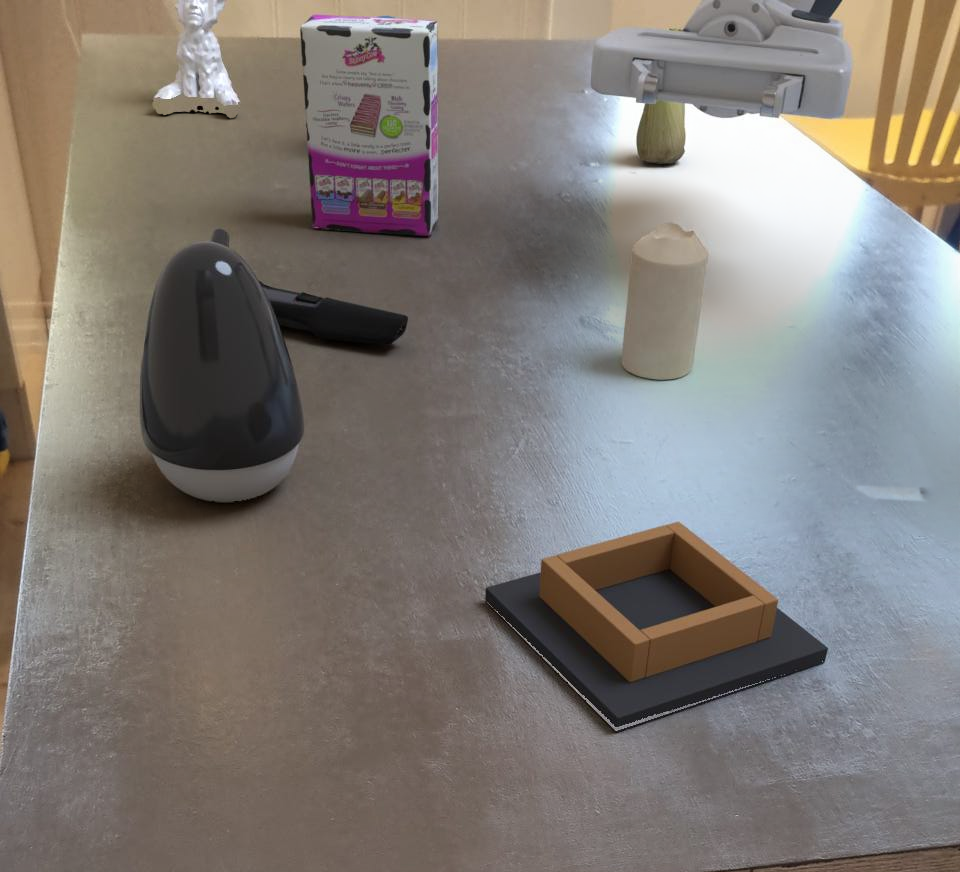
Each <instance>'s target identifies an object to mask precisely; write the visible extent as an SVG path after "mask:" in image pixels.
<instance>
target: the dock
mask: <svg viewBox="0 0 960 872" xmlns="http://www.w3.org/2000/svg"><path fill="white" fill-rule="evenodd" d="M484 596H485V599H484V602H485V603H486V604H487V606H489V607H490V609H491V610H493V611H494V612H495V613H496V614H497V615H498V616H499V617H500V619H502V620H503V621H504V622H505V624H507V625H508V626H509V627H510V629H512V630H513V631H514V632H515V633H516V634H517V636H519V637H520V638H521V639H522V640H523V641H524V642H525V643H526V644H527V645H528V647H530V648H531V650H533V651H534V652H535V653H536V654H537V655H538V656H539V658H540V659H542V660H543V661H544V662H545V663H546V664H547V666H549V667H550V668H551V669H552V671H554V672H555V673H556V674H557V676H558V677H559V678H561V680H563V681H564V682H565V683H566V685H568V687H570V689H572V690H573V691H574V692H575V693H576V694H577V696H579V698H581V699H582V700H583V702H585V704H586V705H587V706H588V707H589V708H590V709H592V710H593V712H594V713H596V714H597V716H599V717H600V719H601V720H603V722H605V723H606V725H608V727H610V728H611V729H612V730H613V731H614V732H615V733H620V732H623V731H625V730H628V729H631V728H635V727H636V726H640V725H643V724H646V723H648V722H649V723H650V722H652V721H655V720H657V719H661V718H664V717H667V716H670V715H673V714H676V713H678V712H682V711H684V710H688V709H691V708H693V707H697V706H700V705H702V704H705V703H709V702H712V701H714V700H717V699H720V698H723V697H726V696H729V695H732V694H736V693H738V692H741V691H744V690H747V689H750V688H753V687H756V686H758V685H761V684H764V683H768V682H770V681H773V680H774V681H775V680H777V679H779V678H783V677H786V676H789V675H792V674H795V673H798V672H800V671H803V670H806V669H809V668H812V667H815V666H819V665H821V664H824V663H826V660H827V656H828V651H829V647H828V646H827V645H826V644H824V643H823V642H821V640H819V639H818V638H816V637H815V636H814V635H812V634H811V632H809V631H807V630H806V629H805V628H804V627H802V626H801V625H800V624H799V623H798V622H796V621H795V620H794V619H793V618H791V617H790V616H789V615H787V614H786V613H784V612H783V610H781V609H779V607H778V604H779V598H777V597H776V596H775V595H773V594H772V593H771V592H770V591H769V590H767V589H765V587H764V586H762V585H761V584H759V583H758V582H757V581H755V580H754V579H753V578H752V577H750V576H749V575H748V574H747V573H746V572H744V571H743V570H742V569H740V568H739V567H738V566H737V565H735V564H734V563H732V561H730V560H729V559H727V558H726V557H725V556H724V555H722V554H721V553H720V552H719V551H717V550H716V549H715V548H714V547H712V546H711V545H710V544H709V543H707V542H706V541H704V540H703V539H702V538H701V537H699V536H698V535H697V534H696V533H694V532H693V531H692V530H690V529H689V528H688V527H687V526H686V525H684V524H683V523H682V522H680V521H675V522H671V523H667V524H665V525H664V524H663V525H659V526H657V527H653V528H649V529H646V530H642V531H638V532H634V533H631V534H627V535H624V536H620V537H616V538H612V539H608V540H605V541H601V542H598V543H594V544H590V545H587V546H584V547H579V548H576V549H572V550H568V551H565V552H561V553H558V554H556V555H555V554H554V555H552V556H548V557H547V556H546V557H544V558H541V560H540V571H539V572H537V573H533V574H529V575H526V576H522V577H519V578H515V579H511V580H507V581H505V582H501V583H497V584H493V585H490V586H487V587H485V595H484ZM485 600H486V601H485ZM487 602H488V603H489V604H490V605H491V606H492V607H493V608H492V607H491V606H490V605H489V604H488V603H487ZM494 609H495V610H496V611H498V613H499V614H500V615H501V616H503V617H504V618H505V620H506V621H507V622H509V623H510V624H511V625H512V627H514V628H515V629H516V630H517V631H518V632H519V633H520V634H521V635H522V636H523V637H524V638H526V639H527V641H528V642H530V643H531V645H532V646H534V647H535V648H536V650H538V651H539V653H540V654H542V655H543V657H545V658H546V659H547V660H548V661H549V662H550V663H551V664H552V666H554V667H555V668H556V669H557V670H558V671H559V672H560V673H561V674H562V675H563V676H564V677H565V678H566V679H567V680H568V681H569V682H570V683H571V684H572V685H573V686H574V687H575V688H576V689H577V690H578V691H579V692H580V693H581V694H582V695H584V696H585V698H587V699H588V700H589V701H590V702H591V703H592V704H593V705H594V706H595V707H596V708H597V709H598V710H599V711H601V713H602V714H604V716H605V717H607V719H609V720H610V722H611V723H612V724H614V726H615V727H619V726H622V725H625V724H629V723H632V722H635V721H636V720H637V721H638V720H641V719H642V718H643V719H644V718H647V717H648V716H653V715H654V714H656V715H657V714H660V713H663V712H666V711H671V710H672V709H673V710H674V709H677V708H680V707H683V706H685V705H686V706H687V705H688V704H693V703H696V702H699V701H702V700H705V699H706V700H707V699H708V698H712V697H713V696H718V695H719V694H720V695H721V694H724V693H727V692H729V691H732V690H733V691H734V690H735V689H739V688H740V687H741V688H742V687H745V686H748V685H752V684H755V683H758V684H755V685H752V686H749V687H746V688H743V689H740V690H737V691H734V692H731V693H728V694H725V695H722V696H719V697H716V698H713V699H710V700H707V701H704V702H701V703H698V704H696V705H693V706H690V707H687V708H684V709H681V710H678V711H675V712H672V713H669V714H666V715H663V716H660V717H657V718H654V719H651V720H648V721H645V722H642V723H639V724H636V725H633V726H630V727H627V728H624V729H621V730H618V731H615V730H614V729H613V728H612V727H611V726H610V725H609V724H608V723H607V722H606V721H605V720H604V719H603V718H602V717H601V716H600V715H599V714H598V713H597V712H596V711H595V710H594V709H593V708H592V707H591V706H590V705H589V704H588V703H587V702H586V701H585V700H584V699H583V698H582V697H581V696H580V695H579V694H578V693H577V692H576V691H575V690H574V689H573V688H572V687H571V686H570V685H569V684H568V683H567V682H566V681H565V680H564V679H563V678H562V677H561V676H560V675H559V674H558V673H557V672H556V671H555V670H554V669H553V668H552V667H551V666H550V665H549V664H548V663H547V662H546V661H545V660H544V659H543V658H542V657H541V656H540V655H539V654H538V653H537V652H536V651H535V650H534V649H533V648H532V647H531V646H530V645H529V644H528V643H527V642H526V641H525V640H524V639H523V638H522V637H521V636H520V635H519V634H518V633H517V632H516V631H515V630H514V629H513V628H512V627H511V626H510V625H509V624H508V623H507V622H506V621H505V620H504V619H503V618H502V617H501V616H500V615H499V614H498V613H497V612H496V611H495V610H494ZM822 661H823V662H822ZM796 670H797V671H796ZM784 674H785V675H784ZM781 675H782V676H781ZM774 677H776V678H774ZM772 678H773V679H772ZM767 679H770V680H767ZM765 680H766V681H765ZM760 681H761V683H759V682H760ZM762 681H764V682H762Z"/></svg>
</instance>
